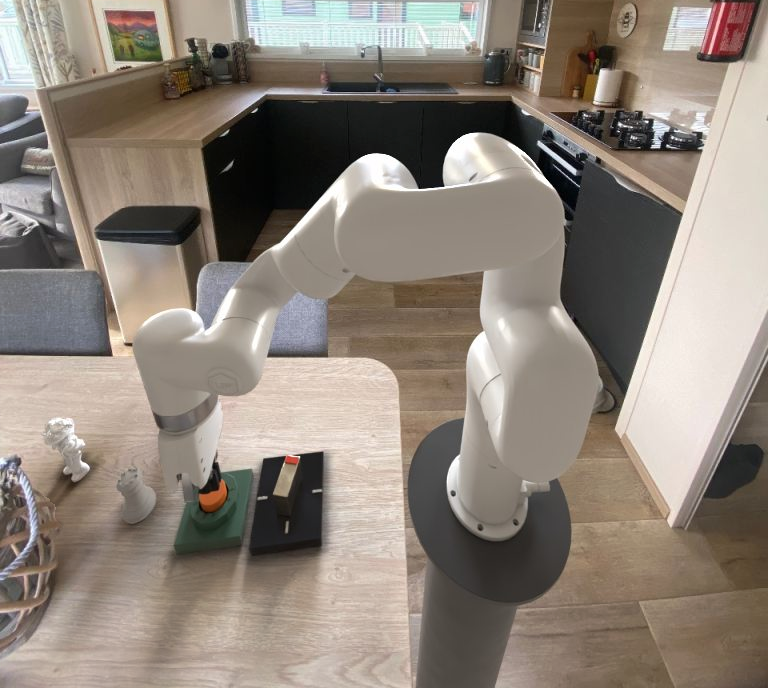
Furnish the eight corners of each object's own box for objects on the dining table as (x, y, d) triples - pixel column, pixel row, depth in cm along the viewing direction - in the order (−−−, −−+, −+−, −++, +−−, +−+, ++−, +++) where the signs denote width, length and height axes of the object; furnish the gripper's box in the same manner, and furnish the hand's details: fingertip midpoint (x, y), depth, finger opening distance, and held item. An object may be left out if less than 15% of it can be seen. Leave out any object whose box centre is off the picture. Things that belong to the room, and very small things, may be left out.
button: (229, 483, 60) (227, 476, 59) (223, 510, 57) (221, 503, 56) (205, 486, 60) (203, 479, 59) (197, 514, 56) (195, 507, 56)
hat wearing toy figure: (104, 473, 64) (83, 424, 60) (77, 496, 61) (53, 447, 57) (76, 445, 69) (54, 398, 64) (50, 466, 65) (25, 418, 61)
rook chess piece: (118, 528, 58) (103, 495, 55) (131, 494, 62) (118, 462, 59) (150, 522, 58) (137, 490, 55) (161, 489, 62) (150, 457, 59)
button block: (253, 476, 64) (250, 461, 63) (242, 544, 56) (238, 529, 54) (196, 483, 63) (192, 468, 62) (176, 554, 55) (170, 538, 53)
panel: (324, 458, 67) (323, 450, 66) (322, 546, 56) (321, 537, 55) (264, 465, 66) (263, 457, 65) (250, 556, 55) (248, 548, 54)
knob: (290, 517, 57) (287, 495, 55) (276, 514, 58) (272, 493, 56) (302, 476, 62) (300, 455, 60) (289, 474, 63) (286, 453, 61)
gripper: (177, 354, 56) (198, 437, 63) (126, 464, 43) (161, 555, 50) (230, 349, 57) (246, 432, 64) (198, 456, 43) (222, 546, 51)
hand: (209, 485), depth 57 cm, fingers closed
